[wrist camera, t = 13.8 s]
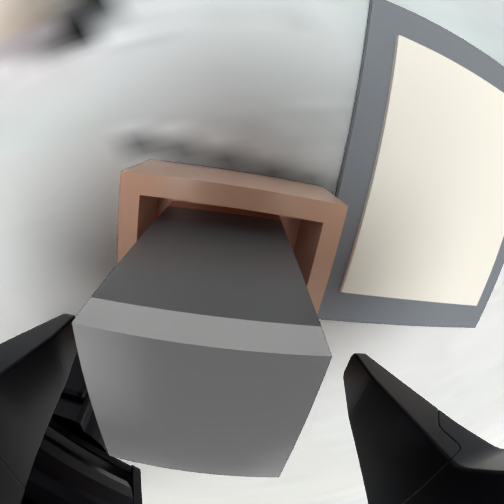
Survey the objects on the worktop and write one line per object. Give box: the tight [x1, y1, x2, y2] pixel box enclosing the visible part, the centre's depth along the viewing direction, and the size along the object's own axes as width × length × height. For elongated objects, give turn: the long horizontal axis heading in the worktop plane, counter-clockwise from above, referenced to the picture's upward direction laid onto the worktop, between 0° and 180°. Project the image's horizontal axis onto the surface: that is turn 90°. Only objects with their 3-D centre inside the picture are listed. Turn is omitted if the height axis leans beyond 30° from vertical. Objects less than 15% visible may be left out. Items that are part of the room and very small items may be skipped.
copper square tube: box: [117, 160, 348, 314], centre depth 14 cm, size 8×8×4 cm
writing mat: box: [317, 0, 504, 328], centre depth 15 cm, size 18×14×1 cm
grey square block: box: [72, 201, 332, 477], centre depth 11 cm, size 5×5×10 cm
